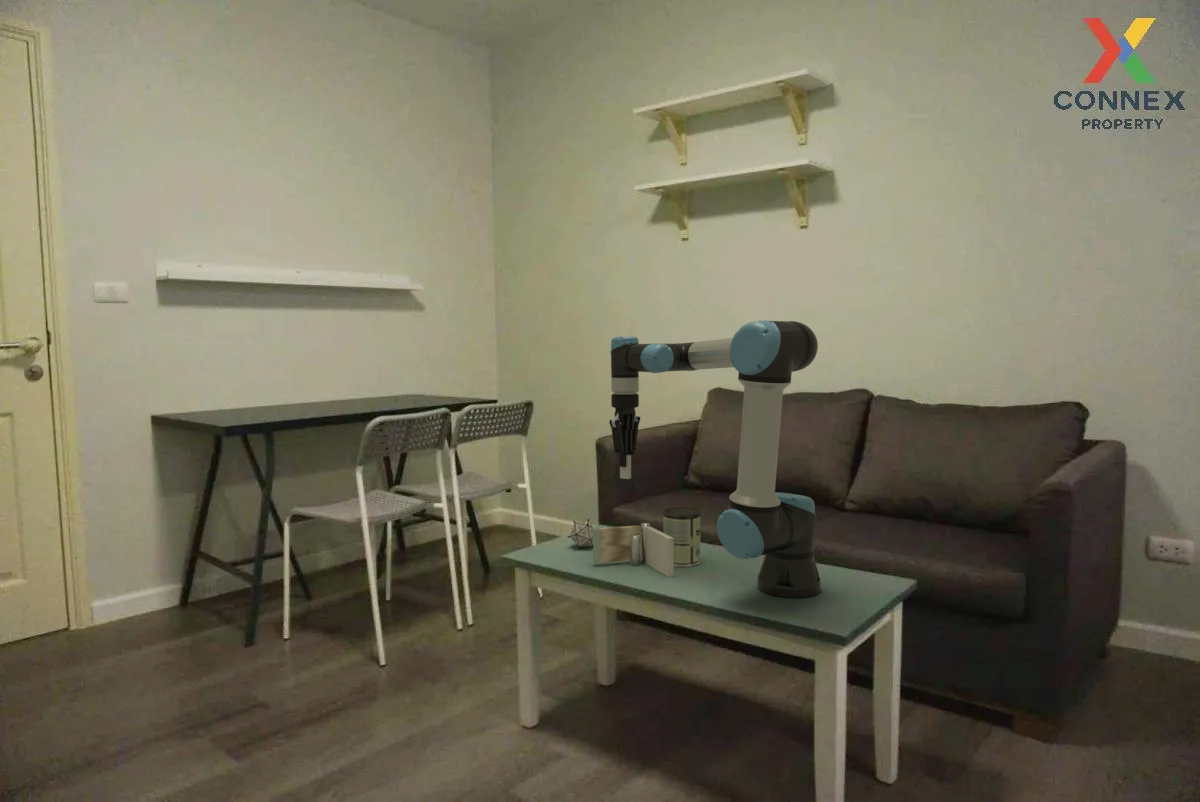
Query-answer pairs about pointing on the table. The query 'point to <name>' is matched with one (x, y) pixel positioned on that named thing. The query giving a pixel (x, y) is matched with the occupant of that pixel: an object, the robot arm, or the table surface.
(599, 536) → the gate
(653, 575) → the table surface
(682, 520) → the coffee can
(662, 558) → the light grey flat panel
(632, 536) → the peg
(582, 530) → the game die
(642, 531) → the gate post
